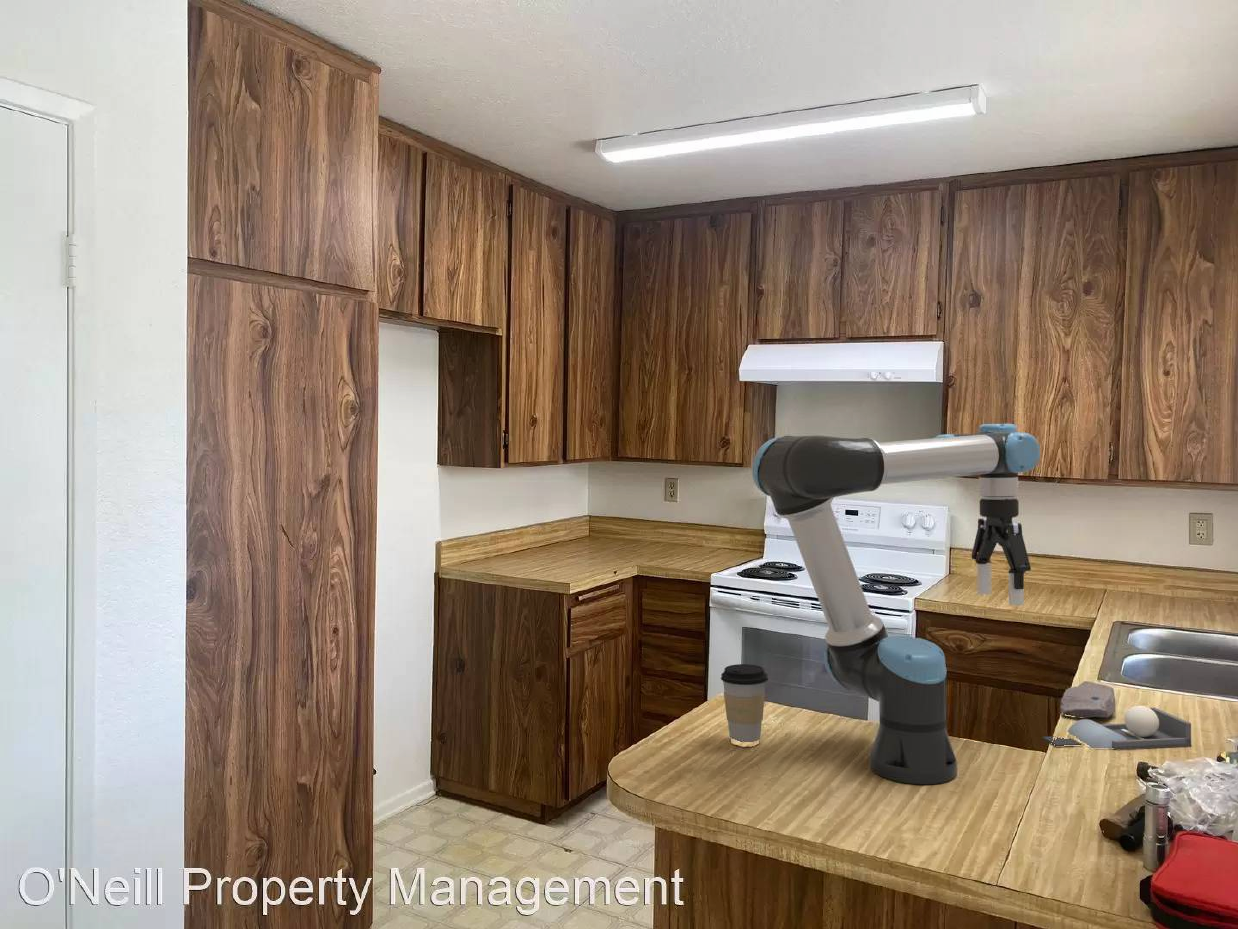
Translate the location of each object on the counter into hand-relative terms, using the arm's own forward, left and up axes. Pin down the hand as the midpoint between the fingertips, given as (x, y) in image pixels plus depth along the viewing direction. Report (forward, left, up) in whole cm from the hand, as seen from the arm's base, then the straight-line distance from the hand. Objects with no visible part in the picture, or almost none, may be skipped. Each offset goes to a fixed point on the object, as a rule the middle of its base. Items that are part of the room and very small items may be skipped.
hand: (999, 599), depth 190 cm
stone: (+23, +5, -27) cm, 36 cm away
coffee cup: (-55, -3, -27) cm, 61 cm away
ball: (+23, -11, -23) cm, 35 cm away
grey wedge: (+14, -11, -32) cm, 37 cm away
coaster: (+7, -11, -27) cm, 30 cm away
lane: (+22, -11, -27) cm, 36 cm away
